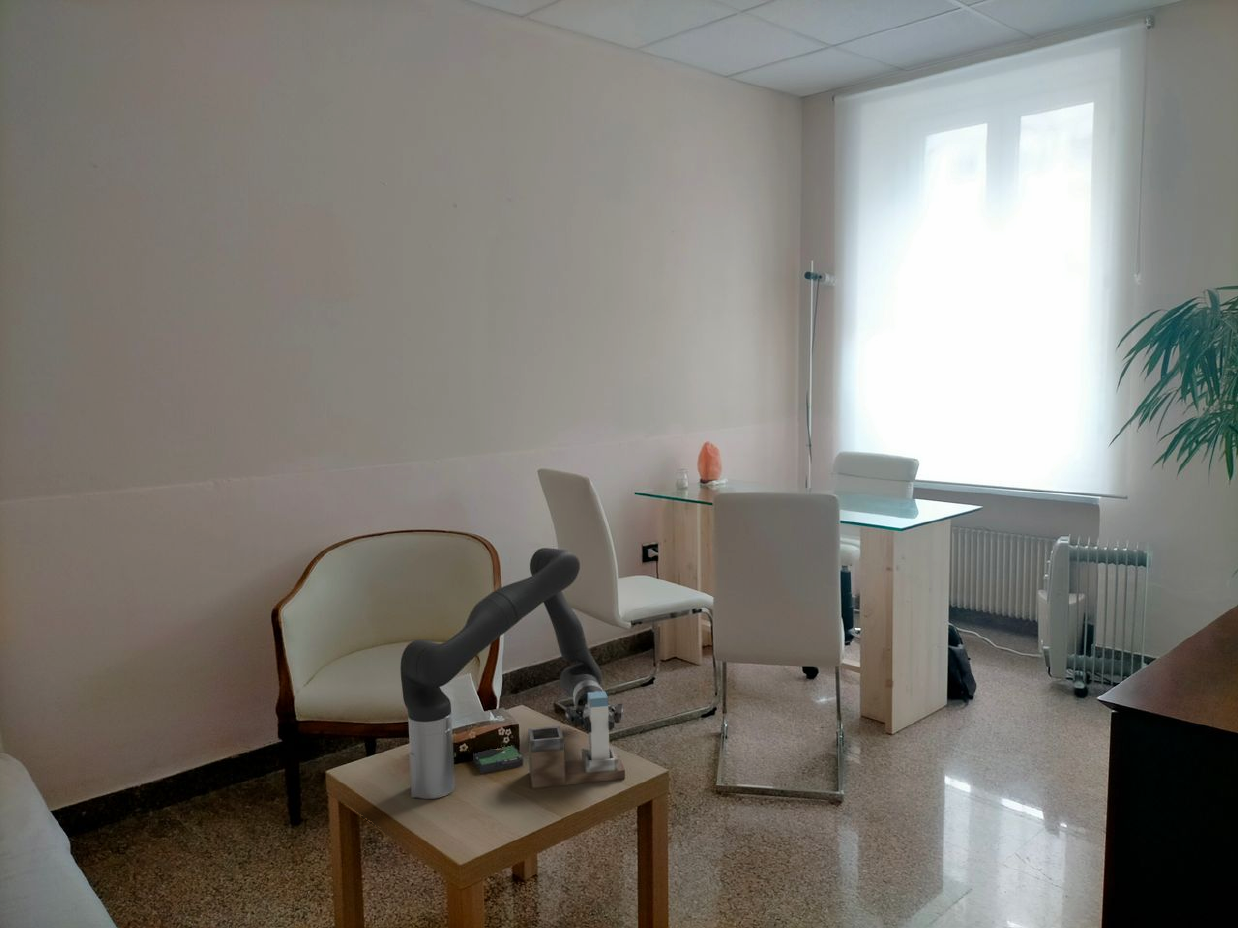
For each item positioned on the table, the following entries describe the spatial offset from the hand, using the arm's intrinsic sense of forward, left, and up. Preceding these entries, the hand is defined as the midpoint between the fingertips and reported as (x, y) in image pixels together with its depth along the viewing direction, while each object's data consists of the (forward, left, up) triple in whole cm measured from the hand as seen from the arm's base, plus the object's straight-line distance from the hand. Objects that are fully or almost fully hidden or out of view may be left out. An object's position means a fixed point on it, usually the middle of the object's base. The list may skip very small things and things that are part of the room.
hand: (600, 727), depth 208 cm
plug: (0, +3, -9) cm, 9 cm away
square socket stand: (-6, +3, -12) cm, 14 cm away
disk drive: (-23, +17, -13) cm, 32 cm away
